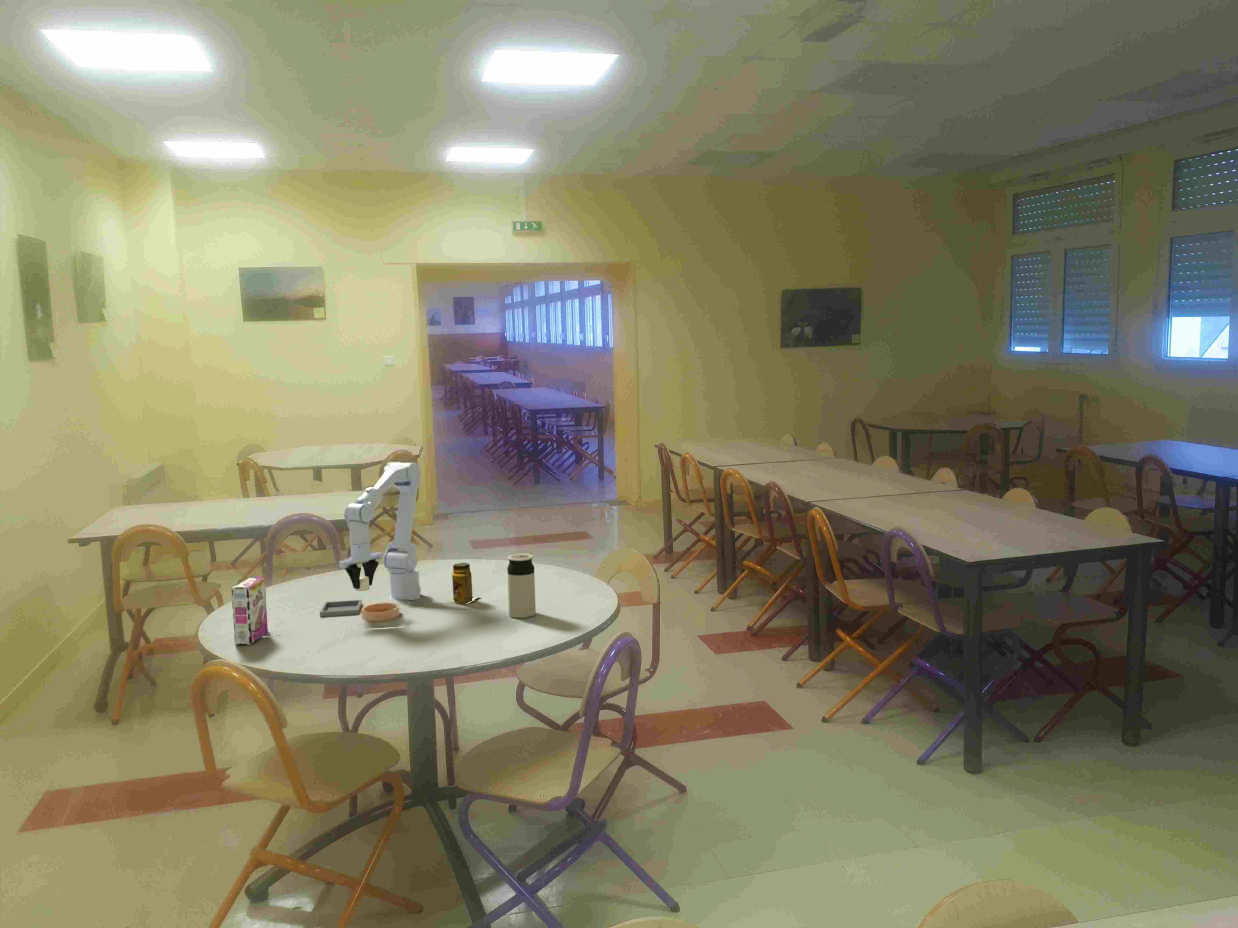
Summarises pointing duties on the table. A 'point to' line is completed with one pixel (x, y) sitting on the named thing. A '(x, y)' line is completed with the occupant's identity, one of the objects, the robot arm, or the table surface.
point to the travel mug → (521, 586)
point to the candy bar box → (249, 611)
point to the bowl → (380, 611)
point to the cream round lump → (364, 583)
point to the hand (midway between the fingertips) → (362, 586)
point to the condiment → (462, 583)
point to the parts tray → (341, 608)
